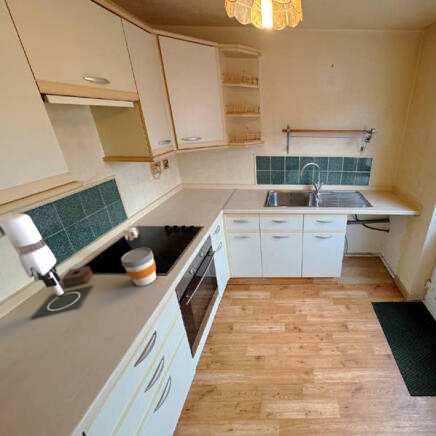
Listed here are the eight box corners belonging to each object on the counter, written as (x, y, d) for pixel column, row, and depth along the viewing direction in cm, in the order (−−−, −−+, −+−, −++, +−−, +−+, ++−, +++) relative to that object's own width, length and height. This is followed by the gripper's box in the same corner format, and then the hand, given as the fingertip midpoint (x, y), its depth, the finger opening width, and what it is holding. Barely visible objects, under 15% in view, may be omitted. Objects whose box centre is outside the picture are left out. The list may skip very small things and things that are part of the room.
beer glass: (148, 249, 137) (140, 227, 131) (139, 256, 131) (131, 233, 125) (137, 248, 138) (129, 226, 132) (128, 255, 132) (119, 232, 126)
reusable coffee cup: (165, 273, 116) (158, 249, 110) (146, 290, 105) (136, 264, 99) (145, 270, 119) (136, 246, 113) (124, 286, 108) (113, 260, 102)
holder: (66, 288, 108) (61, 279, 106) (73, 277, 115) (69, 269, 113) (86, 283, 110) (82, 275, 108) (92, 273, 117) (88, 265, 115)
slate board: (33, 319, 92) (32, 318, 91) (52, 295, 104) (51, 294, 103) (78, 308, 96) (78, 307, 96) (91, 287, 108) (91, 286, 108)
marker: (56, 297, 95) (42, 275, 90) (59, 294, 97) (45, 272, 92) (63, 296, 96) (49, 273, 91) (65, 292, 98) (52, 270, 93)
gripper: (31, 238, 92) (53, 274, 100) (2, 259, 78) (30, 299, 86) (54, 234, 94) (74, 270, 102) (30, 255, 80) (55, 294, 88)
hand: (54, 283), depth 94 cm, fingers closed on marker, 2 cm apart
